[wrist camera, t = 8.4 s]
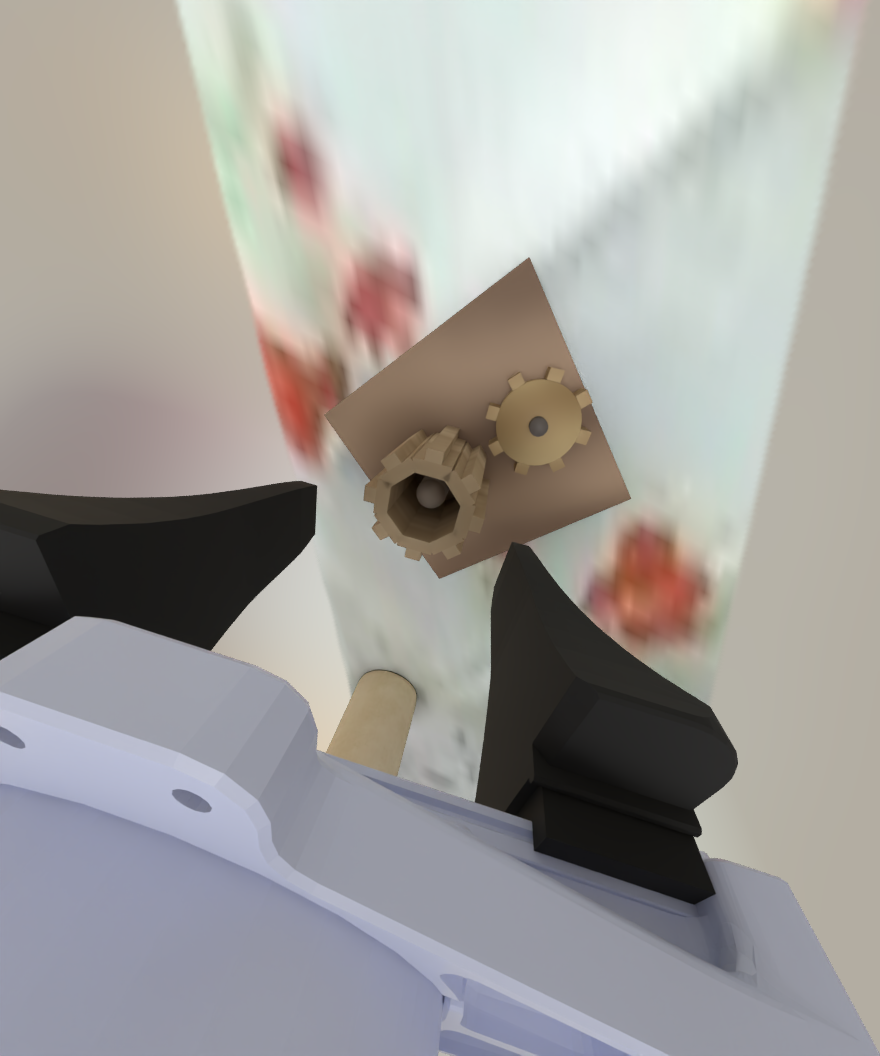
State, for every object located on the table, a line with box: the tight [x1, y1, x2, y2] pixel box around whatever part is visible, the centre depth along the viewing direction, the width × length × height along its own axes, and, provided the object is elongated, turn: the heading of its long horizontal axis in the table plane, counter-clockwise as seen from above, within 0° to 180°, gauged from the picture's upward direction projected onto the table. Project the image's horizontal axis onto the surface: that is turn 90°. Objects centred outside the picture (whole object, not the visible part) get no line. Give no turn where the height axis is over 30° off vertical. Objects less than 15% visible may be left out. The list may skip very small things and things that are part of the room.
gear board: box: [325, 258, 631, 579], centre depth 16 cm, size 12×12×5 cm
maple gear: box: [364, 425, 490, 561], centre depth 16 cm, size 5×5×5 cm
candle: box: [326, 670, 417, 776], centre depth 25 cm, size 6×6×10 cm
